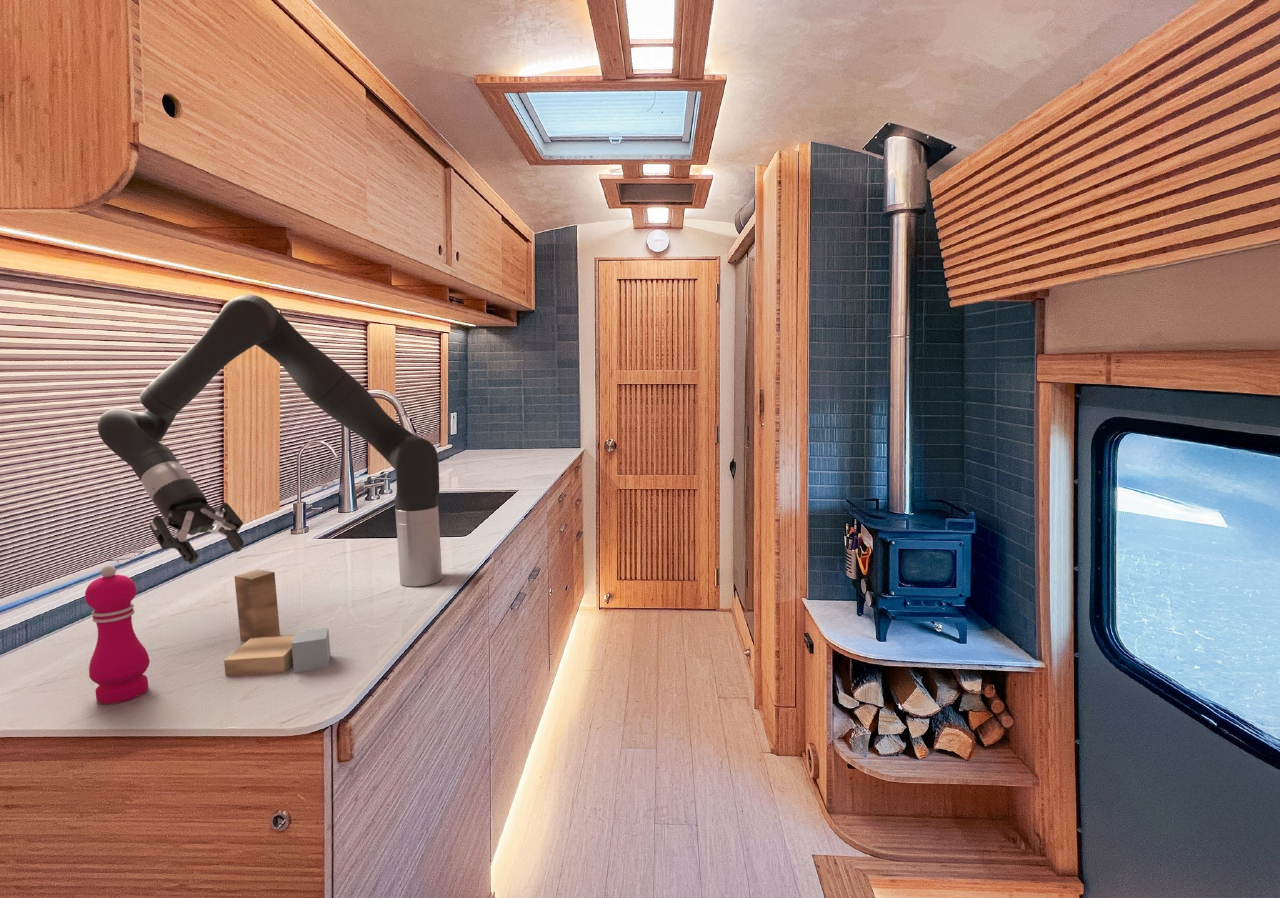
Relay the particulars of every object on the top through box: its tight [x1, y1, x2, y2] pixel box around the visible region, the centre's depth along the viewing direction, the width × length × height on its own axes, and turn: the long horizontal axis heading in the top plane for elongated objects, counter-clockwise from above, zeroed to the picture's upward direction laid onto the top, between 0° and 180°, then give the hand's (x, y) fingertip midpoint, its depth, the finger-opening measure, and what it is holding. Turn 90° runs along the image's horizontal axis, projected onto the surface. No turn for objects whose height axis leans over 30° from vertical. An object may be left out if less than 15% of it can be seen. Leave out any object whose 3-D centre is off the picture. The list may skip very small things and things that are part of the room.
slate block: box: [292, 627, 331, 674], centre depth 110 cm, size 5×5×5 cm
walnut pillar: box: [234, 569, 281, 643], centre depth 122 cm, size 4×4×12 cm
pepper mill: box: [84, 565, 150, 705], centre depth 100 cm, size 7×7×20 cm
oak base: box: [223, 634, 295, 677], centre depth 112 cm, size 9×9×3 cm
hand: (218, 554), depth 125 cm, fingers open, 8 cm apart
